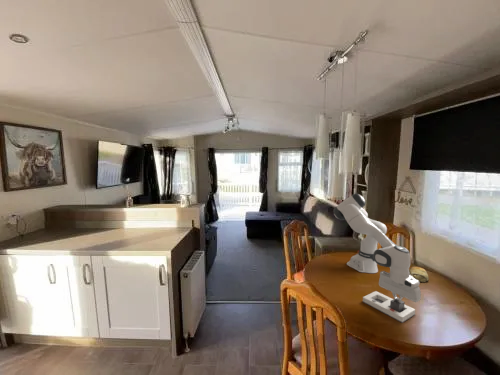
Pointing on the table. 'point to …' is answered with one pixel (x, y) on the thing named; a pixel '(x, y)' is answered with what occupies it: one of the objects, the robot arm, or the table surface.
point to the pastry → (418, 274)
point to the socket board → (387, 306)
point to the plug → (397, 306)
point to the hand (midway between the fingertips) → (397, 301)
